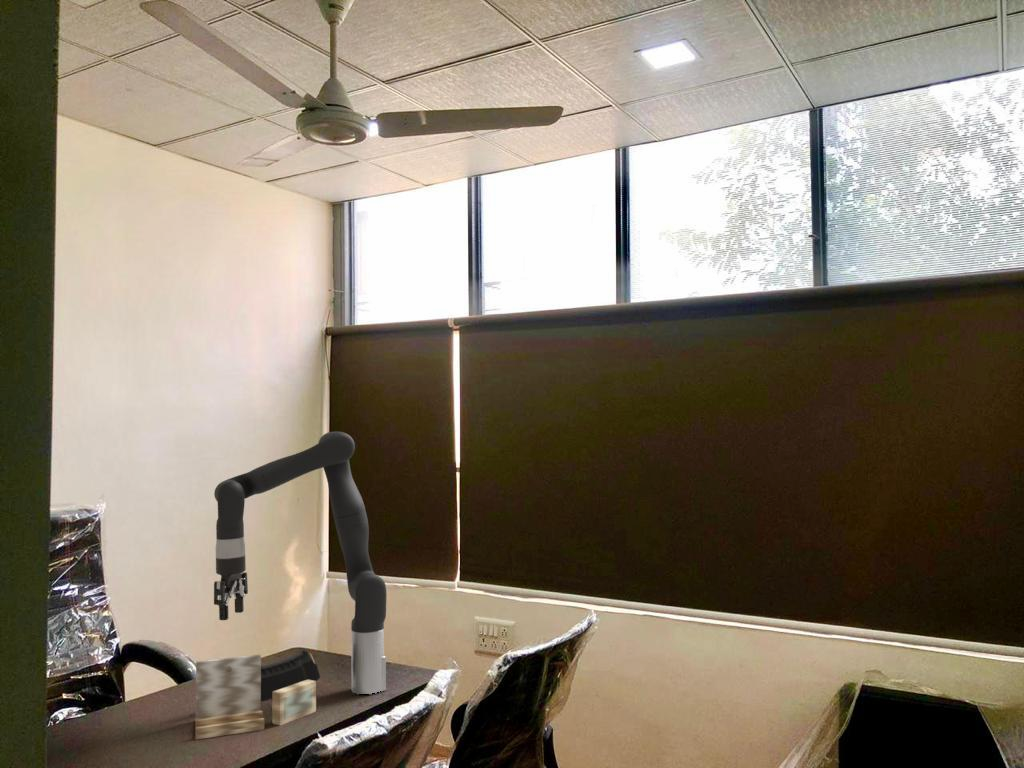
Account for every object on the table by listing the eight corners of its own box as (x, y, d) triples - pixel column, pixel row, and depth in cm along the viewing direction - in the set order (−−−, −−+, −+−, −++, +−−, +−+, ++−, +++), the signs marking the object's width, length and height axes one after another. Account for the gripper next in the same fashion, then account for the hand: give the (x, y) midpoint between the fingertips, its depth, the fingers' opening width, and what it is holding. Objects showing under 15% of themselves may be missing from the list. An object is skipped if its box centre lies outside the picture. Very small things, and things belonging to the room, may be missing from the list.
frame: (307, 709, 212) (307, 679, 213) (316, 711, 210) (316, 681, 211) (272, 723, 202) (272, 691, 203) (280, 726, 200) (280, 693, 201)
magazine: (207, 680, 210) (307, 628, 229) (202, 677, 212) (301, 626, 232) (225, 738, 212) (322, 682, 231) (220, 735, 214) (317, 679, 234)
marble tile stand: (260, 711, 211) (260, 654, 212) (264, 729, 198) (264, 668, 199) (195, 720, 205) (196, 661, 206) (195, 739, 192) (196, 676, 193)
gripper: (231, 559, 205) (232, 622, 204) (255, 550, 219) (257, 609, 218) (203, 559, 206) (204, 622, 205) (230, 551, 220) (231, 610, 219)
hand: (231, 616), depth 212 cm, fingers open, 8 cm apart
